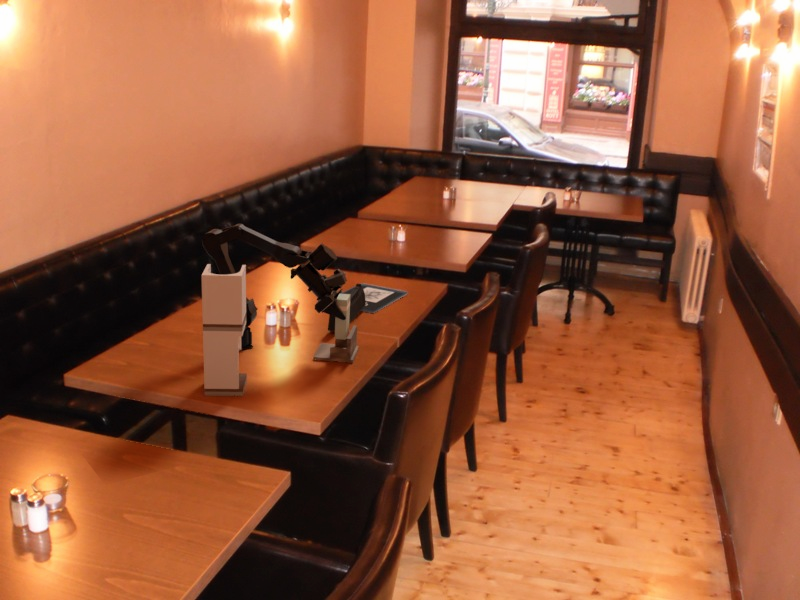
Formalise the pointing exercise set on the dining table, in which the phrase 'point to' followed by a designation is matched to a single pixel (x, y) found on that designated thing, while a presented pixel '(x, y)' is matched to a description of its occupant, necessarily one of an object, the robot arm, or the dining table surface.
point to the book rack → (339, 349)
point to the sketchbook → (378, 297)
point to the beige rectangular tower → (223, 331)
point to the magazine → (351, 306)
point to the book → (343, 325)
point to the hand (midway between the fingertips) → (346, 315)
